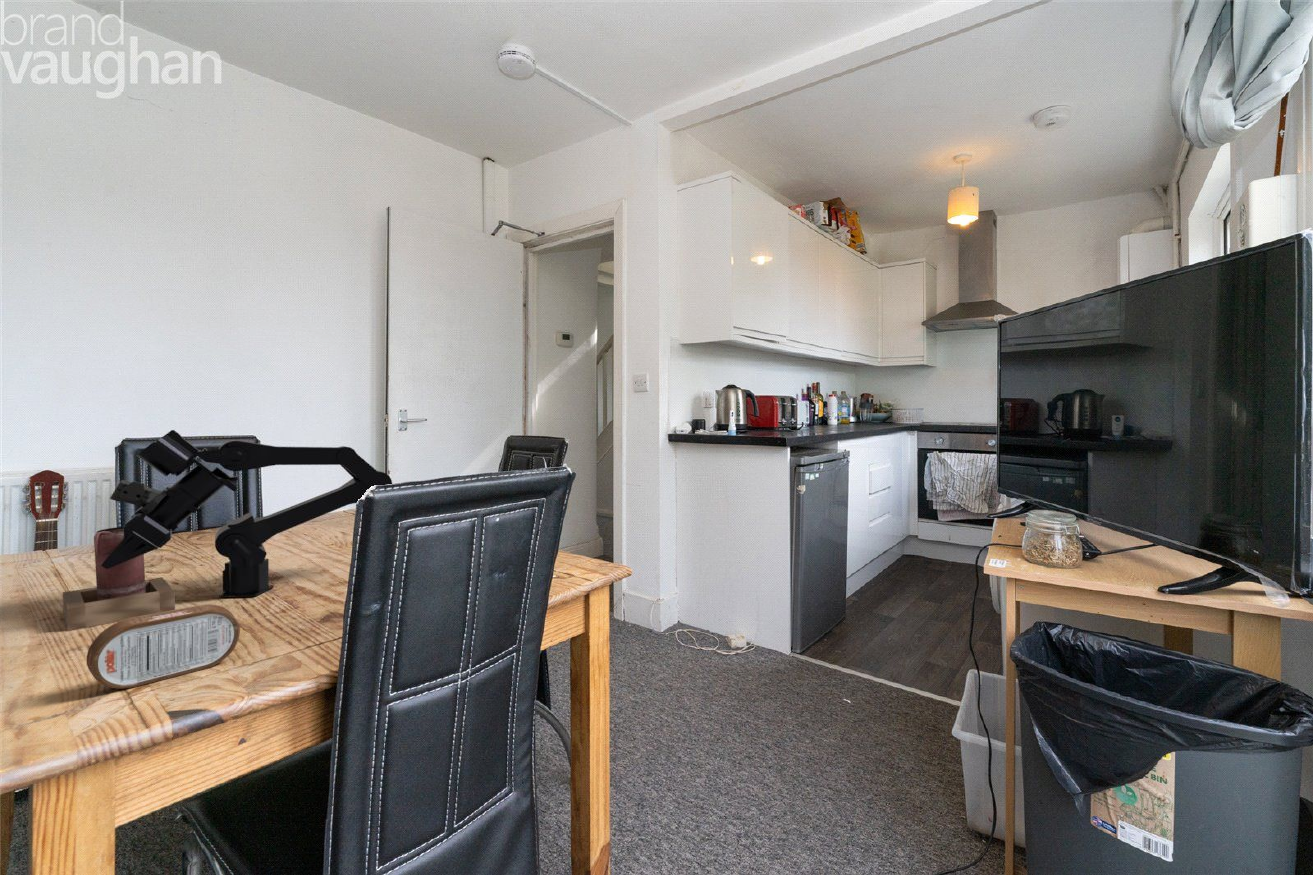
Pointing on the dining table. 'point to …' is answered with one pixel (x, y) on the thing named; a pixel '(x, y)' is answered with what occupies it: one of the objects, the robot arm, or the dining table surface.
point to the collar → (115, 605)
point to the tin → (162, 645)
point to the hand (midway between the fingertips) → (107, 562)
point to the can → (116, 568)
